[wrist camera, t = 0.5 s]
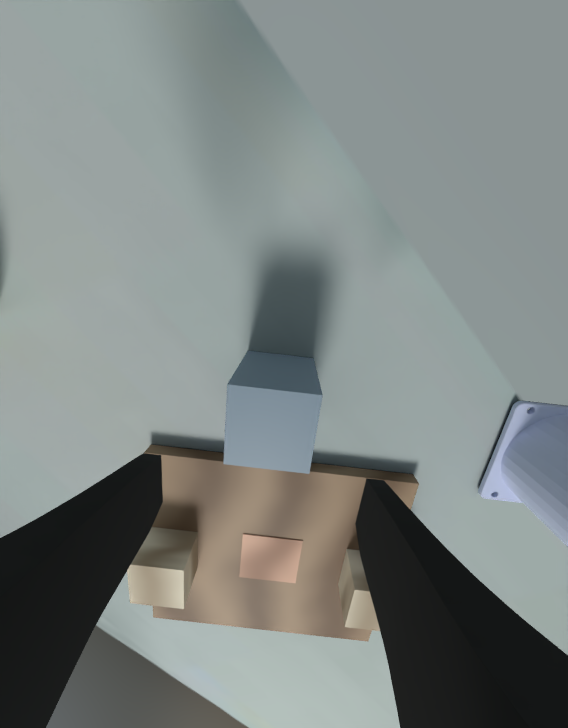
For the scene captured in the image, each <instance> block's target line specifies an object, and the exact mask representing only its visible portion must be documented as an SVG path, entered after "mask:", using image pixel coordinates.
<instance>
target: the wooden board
mask: <svg viewBox="0 0 568 728" xmlns="http://www.w3.org/2000/svg"><path fill="white" fill-rule="evenodd" d="M144 453H147V454H156V455H161V460H162V490H163V503H162V505H161V507H160V510H159V512H158V514H157V517H156V519H155V521H154V523H153V525H152V528H151V530H150V532H149V534H148V535H147V537H146V539H145V541H144V542H143V544H142V546H141V548H140V549H139V551H138V553H137V555H136V556H135V558H134V560H133V561H132V563H131V565H130V566H129V568H128V570H127V574H128V585H129V595H130V603H134V604H143V605H152V606H153V617H154V618H163V619H172V620H181V621H190V622H199V623H208V624H217V625H226V626H235V627H244V628H253V629H262V630H271V631H280V632H289V633H298V634H307V635H316V636H324V637H333V638H342V639H351V640H360V641H368V640H369V637H370V634H371V631H372V630H375V631H380V628H379V624H378V620H377V617H376V613H375V609H374V606H373V602H372V598H371V594H370V591H369V587H368V583H367V580H366V576H365V572H364V568H363V564H362V560H361V557H360V551H359V545H358V539H357V532H356V525H355V523H356V519H357V515H358V510H359V506H360V502H361V498H362V494H363V490H364V486H365V482H366V478H368V479H377V480H384V481H385V482H386V483H387V484H388V485H389V486H390V487H391V489H392V490H393V491H394V492H395V493H396V494H397V495H398V496H399V498H400V499H401V500H402V501H403V502H404V503H405V504H406V505H407V507H408V508H409V509H410V510H411V507H412V504H413V501H414V498H415V495H416V492H417V488H418V485H419V483H418V481H417V480H416V478H415V477H414V475H413V474H406V473H397V472H388V471H379V470H370V469H362V468H353V467H344V466H335V465H326V464H318V463H311V467H310V473H309V474H306V473H297V472H288V471H279V470H270V469H262V468H253V467H244V466H235V465H227V464H223V463H224V453H221V452H212V451H203V450H195V449H186V448H177V447H168V446H160V445H150V446H149V448H148V449H147V450H146V451H145V452H144Z"/></svg>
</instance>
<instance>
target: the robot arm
mask: <svg viewBox="0 0 568 728" xmlns="http://www.w3.org/2000/svg"><path fill="white" fill-rule="evenodd" d="M528 408H530V409H529V410H528ZM527 410H528V411H527ZM478 493H479V494H480V495H481V497H483V498H485V499H493V500H502V501H511V502H520V503H524V504H525V505H526V506H527V507H528V508H529V509H530V510H531V511H532V512H533V513H534V514H535V515H536V516H537V517H538V518H539V519H540V520H541V521H542V522H543V523H544V524H545V525H546V526H547V527H548V528H549V529H550V530H551V531H552V532H553V533H554V534H555V535H556V536H557V537H558V538H559V539H560V540H561V541H562V542H563V543H564V544H565V545H566V546H567V547H568V406H564V405H556V404H547V403H538V402H530V401H518V402H516V403H515V404H514V405H513V406H512V408H511V411H510V413H509V416H508V418H507V421H506V423H505V426H504V428H503V431H502V433H501V435H500V438H499V440H498V443H497V445H496V448H495V450H494V453H493V455H492V457H491V460H490V462H489V465H488V467H487V470H486V472H485V475H484V477H483V480H482V482H481V484H480V487H479V489H478ZM162 503H163V490H162V460H161V455H156V454H147V453H143V454H142V455H140V456H138V457H137V458H135V459H134V460H132V461H130V462H129V463H127V464H126V465H124V466H123V467H121V468H120V469H118V470H116V471H115V472H113V473H112V474H110V475H109V476H107V477H106V478H104V479H102V480H101V481H99V482H98V483H96V484H95V485H93V486H91V487H90V488H88V489H87V490H85V491H83V492H82V493H80V494H79V495H77V496H75V497H73V498H72V499H70V500H68V501H67V502H65V503H63V504H61V505H60V506H58V507H56V508H55V509H53V510H51V511H50V512H48V513H46V514H44V515H43V516H41V517H39V518H37V519H36V520H34V521H32V522H30V523H28V524H26V525H25V526H23V527H21V528H19V529H17V530H15V531H13V532H11V533H9V534H7V535H5V536H3V537H2V538H0V728H46V726H47V724H48V722H49V720H50V717H51V716H52V714H53V711H54V709H55V707H56V705H57V703H58V701H59V699H60V697H61V694H62V692H63V690H64V688H65V686H66V684H67V682H68V680H69V678H70V676H71V674H72V671H73V669H74V667H75V665H76V663H77V661H78V659H79V657H80V655H81V653H82V651H83V649H84V647H85V645H86V643H87V641H88V639H89V637H90V635H91V633H92V631H93V629H94V627H95V625H96V624H97V622H98V620H99V618H100V616H101V614H102V613H103V611H104V609H105V607H106V606H107V604H108V602H109V600H110V599H111V597H112V595H113V594H114V592H115V590H116V589H117V587H118V585H119V583H120V582H121V580H122V578H123V577H124V575H125V573H126V572H127V570H128V568H129V566H130V565H131V563H132V561H133V560H134V558H135V556H136V555H137V553H138V551H139V549H140V548H141V546H142V544H143V542H144V541H145V539H146V537H147V535H148V534H149V532H150V530H151V528H152V525H153V523H154V521H155V519H156V517H157V514H158V512H159V510H160V507H161V505H162ZM355 525H356V532H357V539H358V545H359V551H360V557H361V560H362V564H363V568H364V572H365V576H366V580H367V583H368V587H369V591H370V594H371V598H372V602H373V606H374V609H375V613H376V617H377V620H378V624H379V628H380V631H381V635H382V639H383V643H384V647H385V651H386V655H387V660H388V664H389V669H390V675H391V680H392V685H393V690H394V695H395V701H396V706H397V711H398V717H399V722H400V728H568V655H566V654H565V653H564V652H563V651H561V650H560V649H559V648H558V647H557V646H555V645H554V644H553V643H552V642H550V641H549V640H548V639H547V638H545V637H544V636H543V635H542V634H541V633H539V632H538V631H537V630H536V629H534V628H533V627H532V626H531V625H529V624H528V623H527V622H526V621H525V620H524V619H522V618H521V617H520V616H519V615H518V614H516V613H515V612H514V611H513V610H512V609H511V608H509V607H508V606H507V605H506V604H505V603H504V602H503V601H502V600H500V599H499V598H498V597H497V596H496V595H495V594H494V593H493V592H492V591H490V590H489V589H488V588H487V587H486V586H485V585H484V584H483V583H482V582H480V581H479V580H478V579H477V578H476V577H475V576H474V575H473V574H472V573H471V572H470V571H469V570H468V569H467V568H466V567H465V566H464V565H463V564H462V563H461V562H460V561H459V560H458V559H457V558H456V557H455V556H454V555H453V554H452V553H450V552H449V551H448V550H447V549H446V548H445V546H444V545H443V544H442V543H441V542H440V541H439V540H438V539H437V538H436V537H435V536H434V535H433V534H432V533H431V532H430V531H429V530H428V529H427V528H426V526H425V525H424V524H423V523H422V522H421V521H420V520H419V519H418V518H417V517H416V516H415V514H414V513H413V512H412V511H411V510H410V509H409V508H408V507H407V505H406V504H405V503H404V502H403V501H402V500H401V499H400V498H399V496H398V495H397V494H396V493H395V492H394V491H393V490H392V489H391V487H390V486H389V485H388V484H387V483H386V482H385V481H384V480H377V479H368V478H366V482H365V486H364V490H363V494H362V498H361V502H360V506H359V510H358V515H357V519H356V523H355Z"/></svg>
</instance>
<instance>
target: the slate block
mask: <svg viewBox="0 0 568 728" xmlns="http://www.w3.org/2000/svg"><path fill="white" fill-rule="evenodd" d="M321 401H322V391H321V387H320V383H319V379H318V375H317V371H316V366H315V362H314V358H308V357H300V356H291V355H282V354H273V353H265V352H256V351H247V353H246V355H245V356H244V358H243V360H242V361H241V363H240V364H239V366H238V368H237V369H236V371H235V373H234V374H233V376H232V378H231V379H230V381H229V383H228V384H227V402H226V422H225V442H224V463H223V464H227V465H235V466H244V467H253V468H262V469H270V470H279V471H288V472H297V473H306V474H309V473H310V467H311V461H312V455H313V449H314V443H315V437H316V431H317V425H318V419H319V413H320V407H321Z"/></svg>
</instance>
